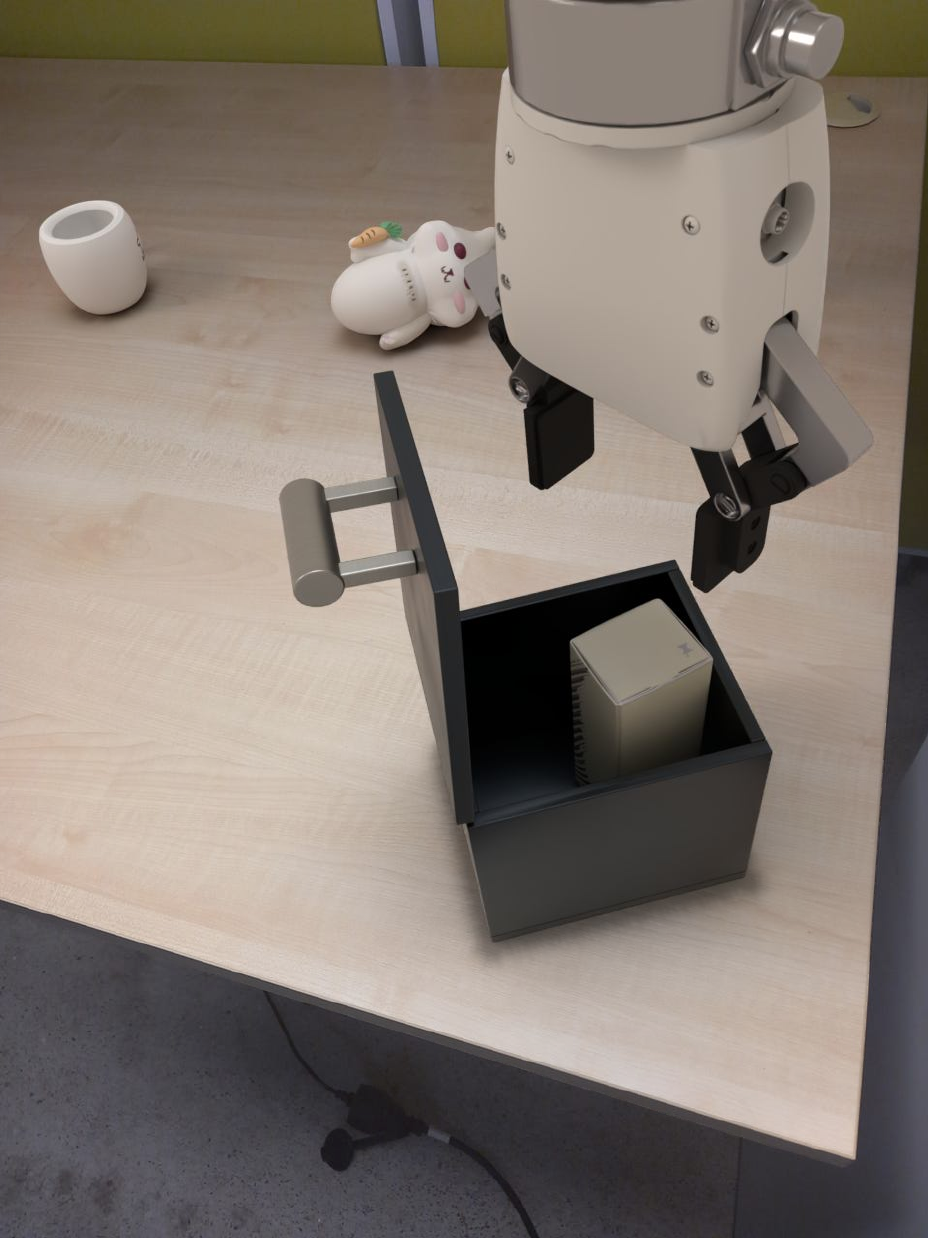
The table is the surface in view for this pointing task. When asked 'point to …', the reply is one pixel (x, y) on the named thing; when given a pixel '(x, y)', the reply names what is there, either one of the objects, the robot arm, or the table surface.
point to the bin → (607, 810)
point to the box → (637, 694)
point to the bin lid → (394, 576)
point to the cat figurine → (408, 280)
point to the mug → (95, 256)
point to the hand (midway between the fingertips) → (639, 515)
